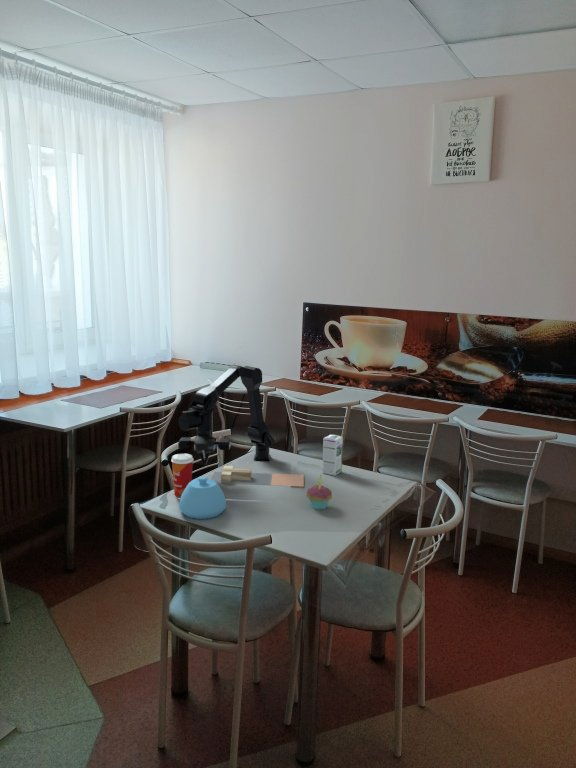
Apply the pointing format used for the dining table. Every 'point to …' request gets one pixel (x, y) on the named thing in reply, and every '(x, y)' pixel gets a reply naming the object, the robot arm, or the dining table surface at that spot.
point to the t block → (234, 474)
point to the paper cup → (181, 472)
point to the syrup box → (332, 454)
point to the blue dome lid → (202, 499)
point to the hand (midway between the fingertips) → (204, 465)
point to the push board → (266, 479)
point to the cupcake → (319, 496)
